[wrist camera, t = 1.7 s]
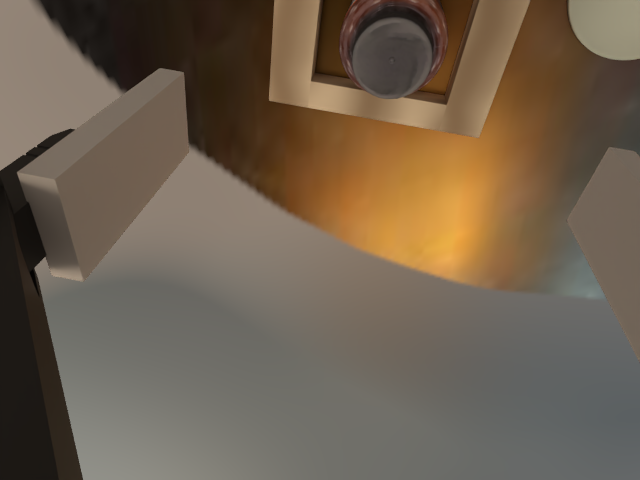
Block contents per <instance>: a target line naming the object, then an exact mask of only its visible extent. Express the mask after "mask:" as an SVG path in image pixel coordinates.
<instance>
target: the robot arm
mask: <svg viewBox="0 0 640 480" xmlns="http://www.w3.org/2000/svg"><path fill="white" fill-rule="evenodd" d="M188 153H189V146H188V131H187V115H186V99H185V84H184V72H179V71H173V70H167V69H161V68H159V69H158V70H157V71H155V72H154V73H152V74H151V75H150V76H148V77H147V78H146V79H144V80H143V81H141V82H140V83H139V84H137V85H136V86H135V87H133V88H132V89H130V90H129V91H128V92H126V93H125V94H124V95H122V96H121V97H120V98H118V99H117V100H115V101H114V102H113V103H111V104H110V105H109V106H107V107H106V108H104V109H103V110H102V111H100V112H99V113H98V114H96V115H95V116H93V117H92V118H91V119H89V120H88V121H87V122H85V123H84V124H82V125H81V126H80V127H79V128H77V129H76V130H74V129H68V130H66V131H63V132H60V133H57V134H54V135H52V136H50V137H48V138H47V139H45V140H44V141H43V142H41V143H40V144H38V145H37V147H34V148H33V149H31V150H30V151H28V152H27V153H26V155H23V156H21V157H20V158H18V159H17V160H15V161H14V162H13V163H11V164H10V165H8V166H7V167H5V168H4V169H2V170H1V171H0V480H83V478H82V473H81V469H80V464H79V459H78V455H77V450H76V446H75V442H74V437H73V433H72V429H71V424H70V419H69V415H68V410H67V406H66V401H65V397H64V392H63V388H62V384H61V379H60V375H59V370H58V366H57V361H56V357H55V352H54V348H53V344H52V339H51V334H50V330H49V325H48V321H47V316H46V312H45V308H44V303H43V299H42V294H41V290H40V285H39V281H38V277H37V274H36V272H35V269H34V268H35V266H36V265H37V264H38V263H39V262H40V261H41V260H42V259H43V258H44V257H46V260H47V262H48V266H49V269H50V272H51V274H52V276H57V277H62V278H67V279H73V280H78V281H83V282H84V281H85V280H86V278H87V277H88V276H89V275H90V273H91V272H92V271H93V270H94V269H95V267H96V266H97V265H98V264H99V262H100V261H101V260H102V259H103V257H104V256H105V255H106V254H107V253H108V251H109V250H110V249H111V248H112V246H113V245H114V244H115V243H116V241H117V240H118V239H119V238H120V236H121V235H122V234H123V233H124V232H125V230H126V229H127V228H128V227H129V225H130V224H131V223H132V222H133V220H134V219H135V218H136V217H137V216H138V214H139V213H140V212H141V211H142V209H143V208H144V207H145V206H146V204H147V203H148V202H149V201H150V199H151V198H152V197H153V196H154V195H155V193H156V192H157V191H158V190H159V188H160V187H161V186H162V185H163V183H164V182H165V181H166V180H167V179H168V177H169V176H170V175H171V174H172V172H173V171H174V170H175V169H176V168H177V166H178V165H179V164H180V163H181V161H182V160H183V159H184V158H185V156H186V155H187V154H188ZM567 222H568V224H569V226H570V228H571V230H572V232H573V234H574V236H575V238H576V240H577V242H578V244H579V246H580V248H581V250H582V251H583V253H584V255H585V257H586V259H587V261H588V263H589V265H590V267H591V269H592V271H593V273H594V275H595V277H596V279H597V281H598V283H599V284H600V286H601V288H602V290H603V292H604V294H605V296H606V298H607V300H608V302H609V304H610V306H611V307H612V310H613V312H614V313H615V315H616V317H617V319H618V321H619V323H620V325H621V327H622V329H623V331H624V333H625V335H626V337H627V339H628V341H629V343H630V344H631V347H632V348H633V350H634V352H635V354H636V356H637V358H638V360H639V362H640V156H639V155H638V154H637V153H636V152H635V151H630V150H624V149H619V148H613V147H609V148H608V150H607V151H606V153H605V155H604V157H603V158H602V160H601V162H600V164H599V165H598V167H597V169H596V170H595V172H594V174H593V176H592V177H591V179H590V181H589V183H588V184H587V186H586V188H585V189H584V191H583V193H582V195H581V196H580V198H579V200H578V202H577V203H576V205H575V207H574V208H573V210H572V212H571V214H570V215H569V217H568V219H567Z"/></svg>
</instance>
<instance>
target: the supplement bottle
mask: <svg viewBox="0 0 640 480" xmlns="http://www.w3.org/2000/svg"><path fill="white" fill-rule="evenodd" d="M447 45H448V26H447V21H446V18H445V15H444V12H443V8H442V5H441V2H440V0H352V2H351V5H350V7H349V9H348V11H347V13H346V16H345V19H344V21H343V24H342V27H341V31H340V39H339V51H340V57H341V61H342V64H343V66H344V69H345V71H346V72H347V74H348V76H349V77H350V79H351V80H352V81H353V82H354V83H355V84H356V85H357V86H358V87H360V88H361V89H362V90H364V91H366V92H367V93H370V94H371V95H373V96H376V97H378V98H382V99H398V98H401V97H404V96H407V95H409V94H412V93H414V92H416V91H417V90H419V89H421V88H422V87H424V86H425V85H426V84H427V83H428V82H429V81H431V79H432V78H433V77H434V76H435V75H436V73H437V72H438V70H439V69H440V67H441V65H442V63H443V60H444V58H445V55H446V51H447Z"/></svg>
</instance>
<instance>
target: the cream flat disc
mask: <svg viewBox="0 0 640 480" xmlns="http://www.w3.org/2000/svg"><path fill="white" fill-rule="evenodd" d="M567 13H568V19H569V23H570V26H571V28H572V30H573V32H574V34H575V36H576V37H577V38H578V40H579V41H580V42H581V43H582V44H583V45H584V46H585V47H586V48H588V49H589V50H590V51H592V52H594V53H595V54H597V55H599V56H602V57H605V58H609V59H614V60H634V59H640V0H567Z"/></svg>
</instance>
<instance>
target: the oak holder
mask: <svg viewBox="0 0 640 480" xmlns="http://www.w3.org/2000/svg"><path fill="white" fill-rule="evenodd" d="M529 3H530V0H474V1H473V4H472V8H471V11H470V14H469V17H468V21H467V24H466V27H465V31H464V34H463V37H462V40H461V44H460V47H459V50H458V54H457V57H456V60H455V64H454V67H453V70H452V73H451V77H450V80H449V83H448V87H447V90H446V93H445V95H439V94H434V93H428V92H422V91H416V92H414V93H412V94H409V95H407V96H404V97H401V98H398V99H382V98H378V97H376V96H373V95H371V94H370V93H367V92H366V91H364V90H362V89H361V88H360V87H358V86H357V85H356V84H355V83H354V82H353V81H352V80H351V79H348V78H342V77H337V76H331V75H325V74H319V73H315V67H316V59H317V50H318V41H319V33H320V24H321V16H322V7H323V0H275V1H274V19H273V37H272V55H271V73H270V91H269V101H274V102H280V103H285V104H291V105H296V106H302V107H308V108H313V109H319V110H324V111H330V112H336V113H341V114H347V115H352V116H358V117H364V118H369V119H375V120H381V121H386V122H392V123H397V124H403V125H409V126H414V127H420V128H425V129H431V130H437V131H442V132H448V133H453V134H459V135H465V136H470V137H476V138H479V136H480V133H481V131H482V128H483V125H484V123H485V120H486V117H487V115H488V112H489V109H490V107H491V104H492V101H493V99H494V96H495V93H496V91H497V88H498V85H499V83H500V80H501V77H502V75H503V72H504V69H505V67H506V64H507V61H508V59H509V56H510V53H511V51H512V48H513V45H514V43H515V40H516V37H517V35H518V32H519V29H520V27H521V24H522V21H523V19H524V16H525V13H526V11H527V8H528V5H529Z"/></svg>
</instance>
